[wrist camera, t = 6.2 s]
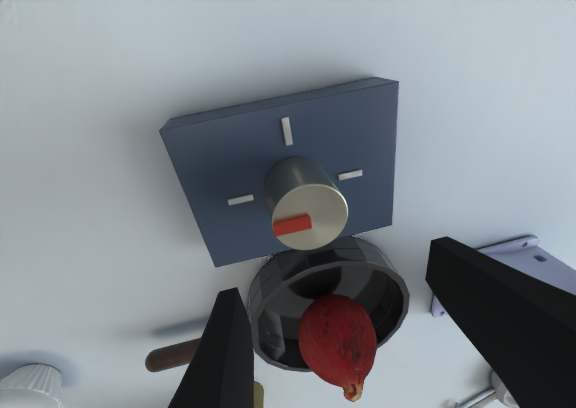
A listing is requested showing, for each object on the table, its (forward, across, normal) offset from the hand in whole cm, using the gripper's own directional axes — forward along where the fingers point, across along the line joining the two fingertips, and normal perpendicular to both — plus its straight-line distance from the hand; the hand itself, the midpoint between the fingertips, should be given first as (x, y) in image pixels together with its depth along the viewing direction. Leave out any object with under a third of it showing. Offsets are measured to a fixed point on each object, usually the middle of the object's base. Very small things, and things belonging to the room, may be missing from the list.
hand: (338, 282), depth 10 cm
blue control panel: (+9, 0, -1) cm, 9 cm away
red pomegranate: (+9, -1, +12) cm, 15 cm away
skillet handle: (+8, +10, +12) cm, 17 cm away
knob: (+7, 0, -1) cm, 7 cm away
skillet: (+9, -1, +12) cm, 15 cm away
